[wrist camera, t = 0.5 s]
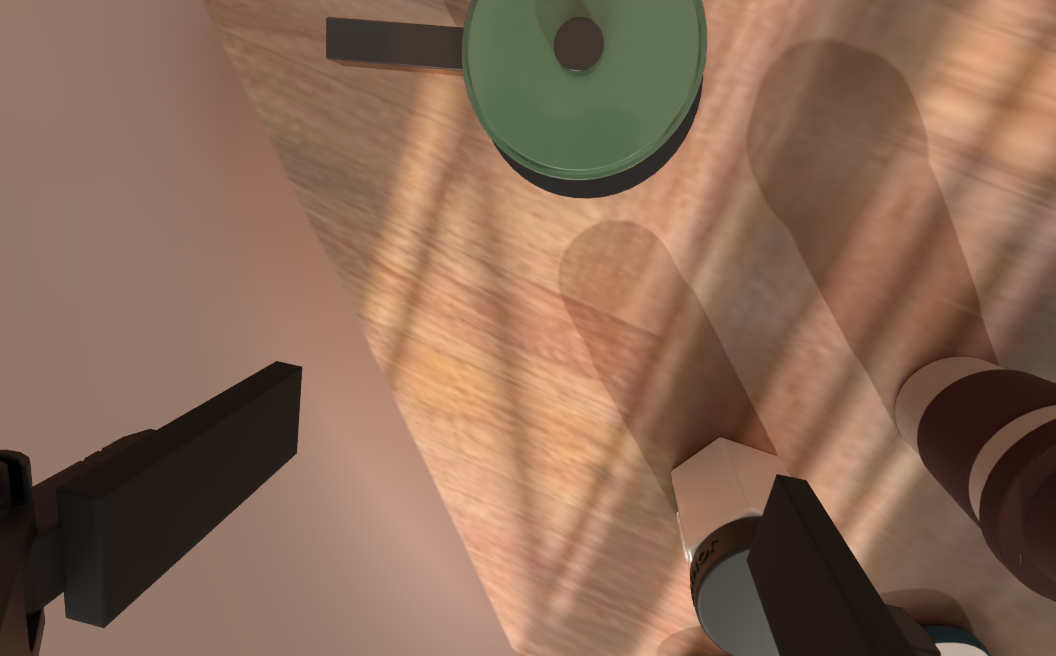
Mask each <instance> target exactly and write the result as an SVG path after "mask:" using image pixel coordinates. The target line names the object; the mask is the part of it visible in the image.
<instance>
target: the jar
mask: <svg viewBox="0 0 1056 656" xmlns="http://www.w3.org/2000/svg"><path fill="white" fill-rule="evenodd" d="M776 474H780V475H784V476H789V477H791V475H790V474H789V472H788V470H787V469H786V467H785V465H784V464H783V462H782V460H781V459H780V458H779V457H778V456H775V455H772V454H769V453H766V452H763V451H760V450H757V449H754V448H751V447H748V446H746V445H743V444H740V443H737V442H734V441H731V440H728V439H725V438H722V437H720V438H718V439H716V440H715V441H713V442H712V443H710V444H709V445H708V446H706V447H705V448H703V449H702V450H700V451H699V452H698V453H696V454H695V455H693V456H692V457H691V458H689V459H688V460H686V461H685V462H683V463H682V464H681V465H679V466H678V467H676V468H675V469H673V470H672V471H671V477H672V483H673V488H674V494H675V499H676V504H677V510H678V512H677V513H676V515H677V520H678V525H679V531H680V536H681V541H682V546H683V552H684V557H685V560H686V561H688V566H689V571H690V583H691V584H690V588H691V595H692V600H693V605H694V607H695V610H696V613H697V617H698V620H699V622H700V624H701V626H702V628H703V630H704V631H705V633H706V634H707V636H708V637H709V638H710V639H711V640H712V641H713V642H714V643H715V644H716V645H717V646H718V647H719V648H721V649H722V650H724V651H725V652H727V653H728V654H730V655H732V656H779V653H778V650H777V647H776V644H775V641H774V639H773V636H772V633H771V630H770V627H769V624H768V621H767V618H766V616H765V613H764V610H763V607H762V604H761V601H760V598H759V596H758V593H757V590H756V587H755V584H754V581H753V578H752V575H751V573H750V570H749V567H748V564H747V561H746V560H747V557H748V555H749V552H750V549H751V546H752V543H753V540H754V537H755V534H756V532H757V529H758V526H759V523H760V520H761V517H762V514H763V512H764V509H765V506H766V503H767V500H768V497H769V494H770V491H771V489H772V486H773V483H774V480H775V477H776Z"/></svg>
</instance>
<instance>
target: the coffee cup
mask: <svg viewBox="0 0 1056 656" xmlns="http://www.w3.org/2000/svg"><path fill="white" fill-rule="evenodd" d="M895 420H896V424H897V426H898V429H899V431H900V433H901V435H902V436H903V438H904V439H905V440H906V441H907V442H908V443H909V445H910V446H911V447H912V448H913V449H914V450H915V451H916V452H917V453H918V454H919V456H920V457H921V459H922V461H923V463H924V465H925V466H926V468H927V469H928V470H929V472H930V473H931V474H932V475H933V476H934V477H935V479H936V480H937V481H938V482H939V483H940V484H941V485H942V486H943V488H944V489H945V490H946V491H947V492H948V493H949V494H950V495H951V497H952V498H953V499H954V500H955V501H956V502H957V503H958V504H959V506H960V507H961V508H962V509H963V510H964V511H965V512H966V513H967V514H968V516H969V517H970V518H971V519H972V520H973V521H974V522H975V523H976V525H977V526H978V527H979V528H981V529H982V533H983V536H984V538H985V541H986V543H987V544H988V546H989V548H990V550H991V551H992V552H993V554H994V555H995V557H996V558H997V559H998V560H999V561H1000V562H1001V563H1002V564H1003V565H1004V566H1005V567H1006V568H1007V569H1008V570H1009V571H1010V572H1011V573H1012V574H1013V575H1014V576H1015V577H1016V578H1017V579H1018V580H1019V581H1020V582H1021V583H1023V584H1024V585H1025V586H1027V587H1028V588H1029V589H1031V590H1032V591H1034V592H1036V593H1038V594H1039V595H1041V596H1043V597H1046V598H1048V599H1050V600H1053V601H1055V602H1056V383H1053V382H1050V381H1048V380H1045V379H1042V378H1040V377H1037V376H1034V375H1031V374H1028V373H1025V372H1021V371H1015V370H1008V369H1005V368H1003V367H1000V366H997V365H995V364H992V363H989V362H987V361H984V360H981V359H977V358H971V357H950V358H944V359H941V360H937V361H935V362H932V363H930V364H928V365H926V366H924V367H922V368H921V369H919V370H918V371H917V372H915V373H914V374H913V375H912V376H911V377H910V378H909V379H908V380H907V381H906V382H905V384H904V385H903V386H902V388H901V390H900V392H899V395H898V397H897V400H896V405H895Z"/></svg>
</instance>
